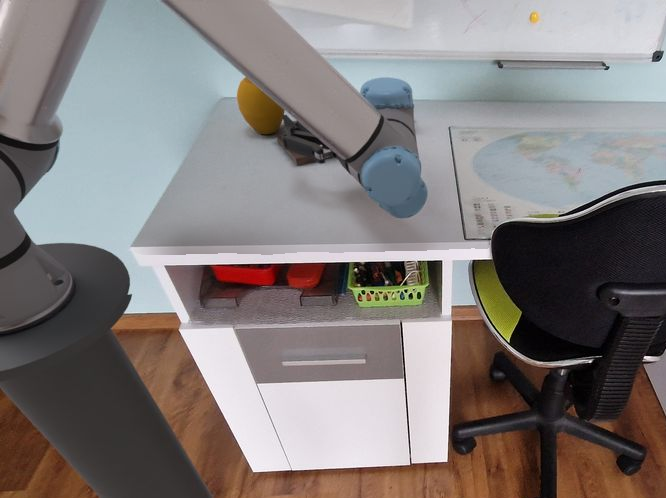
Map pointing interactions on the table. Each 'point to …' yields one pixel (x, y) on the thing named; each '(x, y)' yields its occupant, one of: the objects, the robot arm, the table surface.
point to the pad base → (294, 156)
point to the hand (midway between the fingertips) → (319, 115)
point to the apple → (258, 108)
